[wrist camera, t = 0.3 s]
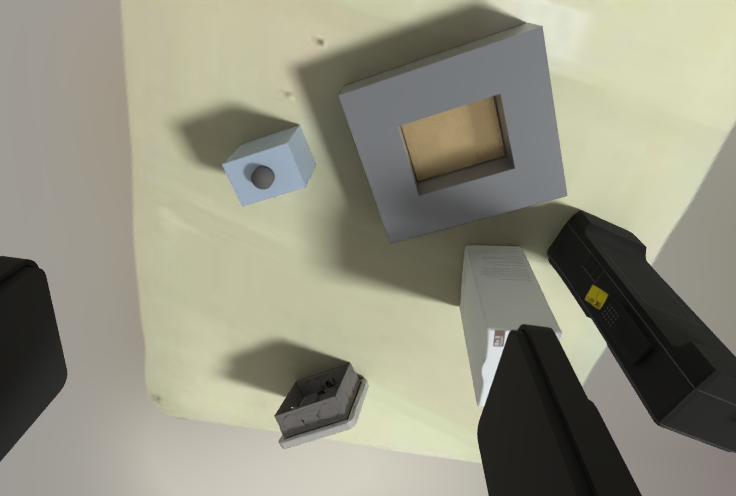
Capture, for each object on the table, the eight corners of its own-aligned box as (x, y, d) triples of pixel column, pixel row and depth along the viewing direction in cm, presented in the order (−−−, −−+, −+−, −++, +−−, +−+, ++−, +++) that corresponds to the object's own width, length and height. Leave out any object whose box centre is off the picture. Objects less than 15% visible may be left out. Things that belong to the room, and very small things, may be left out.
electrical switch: (305, 403, 61) (287, 461, 52) (285, 372, 59) (264, 428, 50) (370, 381, 58) (363, 438, 50) (351, 349, 57) (341, 402, 48)
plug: (241, 144, 45) (218, 167, 39) (300, 124, 44) (285, 145, 38) (259, 182, 46) (239, 210, 40) (316, 164, 45) (304, 190, 39)
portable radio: (533, 252, 49) (648, 467, 27) (567, 203, 46) (727, 398, 24) (597, 280, 50) (758, 507, 28) (634, 233, 47) (845, 445, 25)
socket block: (343, 85, 42) (338, 95, 38) (527, 22, 39) (542, 26, 35) (390, 222, 48) (390, 243, 44) (551, 177, 45) (567, 195, 41)
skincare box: (510, 308, 52) (550, 414, 39) (455, 307, 52) (476, 412, 39) (521, 241, 48) (569, 334, 35) (461, 240, 48) (486, 332, 35)
